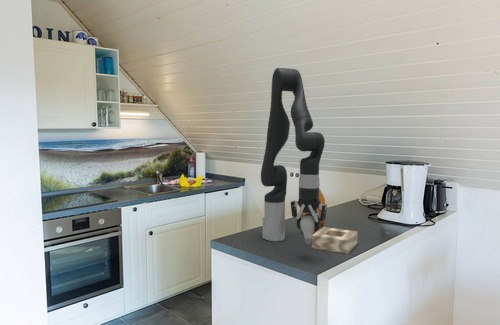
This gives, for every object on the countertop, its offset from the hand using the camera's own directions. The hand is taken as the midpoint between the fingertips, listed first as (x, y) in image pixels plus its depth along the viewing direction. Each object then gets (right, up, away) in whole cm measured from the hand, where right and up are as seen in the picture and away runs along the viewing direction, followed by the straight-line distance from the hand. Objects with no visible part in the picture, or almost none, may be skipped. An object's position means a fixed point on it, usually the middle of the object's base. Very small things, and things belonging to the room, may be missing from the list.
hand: (308, 229), depth 138 cm
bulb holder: (+14, -10, +17) cm, 24 cm away
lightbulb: (0, -6, +1) cm, 6 cm away
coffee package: (+9, -8, +37) cm, 39 cm away
